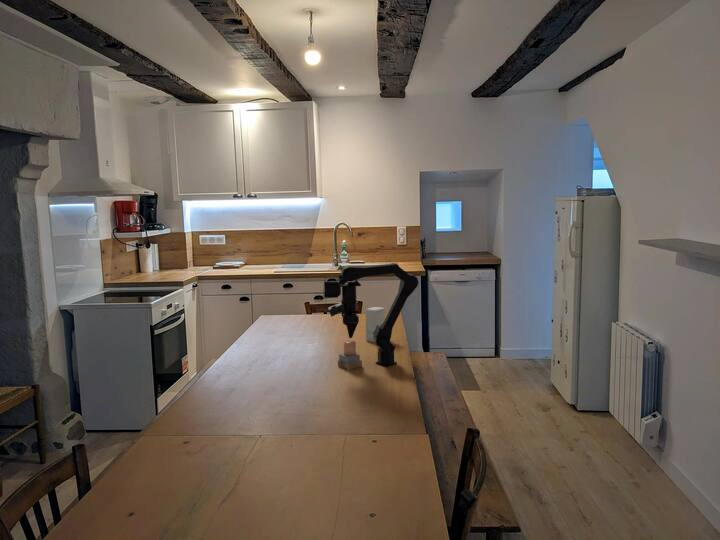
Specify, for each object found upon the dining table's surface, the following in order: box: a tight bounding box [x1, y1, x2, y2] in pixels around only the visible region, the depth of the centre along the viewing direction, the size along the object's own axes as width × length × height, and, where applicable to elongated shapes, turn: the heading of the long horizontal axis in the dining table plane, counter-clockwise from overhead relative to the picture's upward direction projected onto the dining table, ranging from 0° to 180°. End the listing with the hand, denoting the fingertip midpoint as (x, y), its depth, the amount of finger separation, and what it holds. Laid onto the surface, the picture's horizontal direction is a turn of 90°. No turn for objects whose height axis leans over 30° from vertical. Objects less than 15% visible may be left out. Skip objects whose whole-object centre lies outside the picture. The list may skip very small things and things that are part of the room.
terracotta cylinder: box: [342, 340, 357, 356], centre depth 220 cm, size 5×5×5 cm
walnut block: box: [337, 359, 363, 371], centre depth 220 cm, size 7×7×3 cm
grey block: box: [338, 352, 361, 363], centre depth 220 cm, size 6×6×2 cm
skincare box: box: [365, 306, 386, 343], centre depth 259 cm, size 8×7×16 cm
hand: (349, 335), depth 219 cm, fingers open, 9 cm apart
